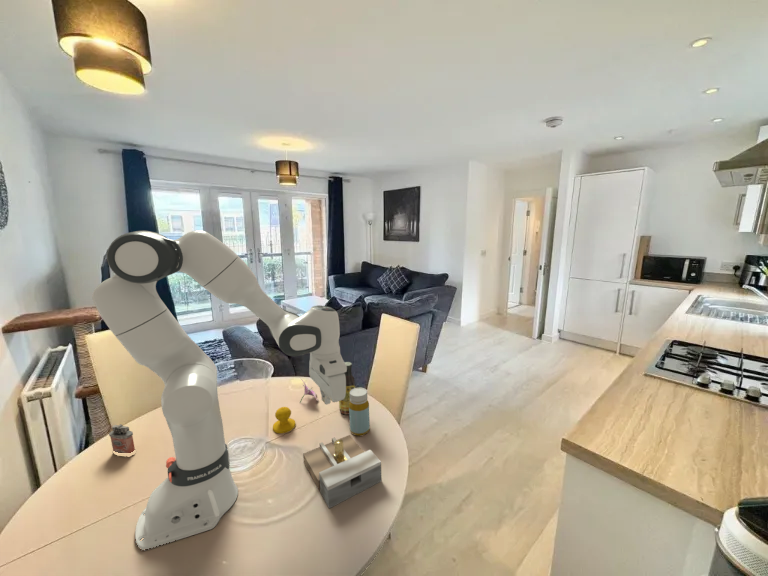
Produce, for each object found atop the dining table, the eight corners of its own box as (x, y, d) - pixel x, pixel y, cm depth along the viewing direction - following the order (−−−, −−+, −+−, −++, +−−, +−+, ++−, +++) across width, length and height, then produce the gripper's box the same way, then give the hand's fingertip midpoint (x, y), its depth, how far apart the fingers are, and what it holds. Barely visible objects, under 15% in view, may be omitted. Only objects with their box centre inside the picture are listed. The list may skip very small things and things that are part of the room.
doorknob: (278, 436, 110) (269, 426, 116) (299, 427, 115) (289, 418, 121) (276, 417, 108) (267, 408, 114) (297, 408, 114) (288, 400, 120)
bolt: (333, 459, 93) (332, 441, 92) (341, 455, 95) (340, 437, 94) (346, 478, 86) (345, 459, 85) (355, 474, 87) (354, 455, 86)
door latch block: (303, 462, 97) (302, 444, 96) (350, 442, 106) (349, 425, 104) (329, 508, 80) (327, 487, 79) (381, 481, 89) (380, 461, 88)
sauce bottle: (340, 416, 121) (337, 368, 117) (338, 408, 127) (335, 361, 123) (357, 413, 123) (355, 366, 119) (354, 405, 129) (352, 359, 125)
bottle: (367, 437, 108) (365, 397, 105) (347, 435, 109) (345, 396, 107) (371, 425, 115) (370, 387, 112) (353, 423, 116) (351, 386, 114)
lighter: (109, 455, 103) (104, 427, 101) (120, 448, 106) (115, 421, 104) (128, 458, 101) (123, 430, 99) (139, 451, 104) (134, 424, 102)
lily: (313, 412, 126) (323, 389, 127) (286, 402, 126) (296, 379, 127) (317, 405, 138) (326, 384, 139) (293, 396, 138) (301, 375, 139)
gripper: (303, 350, 100) (304, 390, 103) (328, 373, 83) (329, 421, 86) (322, 347, 104) (323, 386, 106) (349, 368, 87) (350, 414, 89)
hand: (326, 402), depth 96 cm, fingers closed
